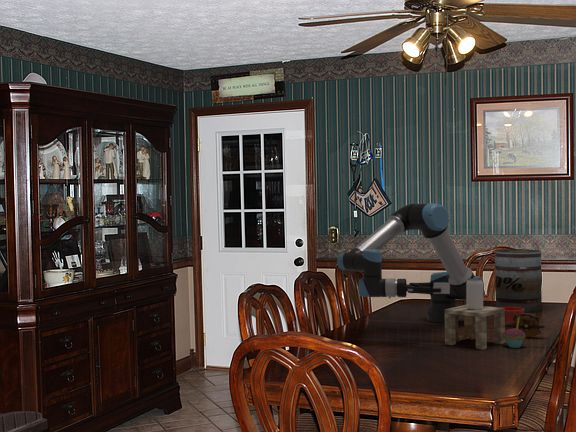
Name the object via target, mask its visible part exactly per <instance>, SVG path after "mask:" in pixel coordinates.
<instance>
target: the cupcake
mask: <svg viewBox="0 0 576 432" xmlns="http://www.w3.org/2000/svg"><path fill="white" fill-rule="evenodd" d="M519 317H520V316H519ZM519 319H520V318H518V320H517V327H516V328H513V329H508V330H506V331H504V332H503V337H504V338H505V342H506V344H507V346H508V347H509V348H512V349H514V348H515V349H518V348H521V347H522V343H523V342H524V339H526V337H525V335H526V334H525V333H524V332H523V331H522V330H519V329H518V325H519Z"/></svg>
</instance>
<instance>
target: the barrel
mask: <svg viewBox="0 0 576 432" xmlns="http://www.w3.org/2000/svg"><path fill="white" fill-rule="evenodd" d="M494 275H495V277H494V278H495V280H494V282H495V284H494V285H495V286H494V287H495V291H494V292H495V307H498V308H500V307H520V308H524V313H528V314H536V313H540V312H542V311H543V310H542V309H543V307H542V305H543V302H542V301H543V300H542V297H543V296H542V294H543V293H542V250H539V249H526V248H525V249H498V250H497V249H496V250H494Z"/></svg>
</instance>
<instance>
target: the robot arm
mask: <svg viewBox="0 0 576 432" xmlns="http://www.w3.org/2000/svg"><path fill="white" fill-rule="evenodd" d="M449 222H450V219H449V213H448V211H447V209H446V208H445V207H444V205H441V204H440V203H433V202H429V203H410V204H409V203H408V204H406V205H404V206H402V207H400V208H399V209H397V210H395V211H394V212H392V214H390V215H388V217H387V218H386V222H384V223H383V224H382V225H380V226H379V227H378V228H376V230H374V231H372V233H370V235H368V236H367V237H365V238H364V239H362V241H361V242H359V243H358V244H357V245H356V246H355V247H353V248H352V249H351V250H350V251H348V252H341V253H339V254H338V256H337V260H336V264H337V266H338V268H339V269H340V270H342V271H347V272H348V271H349V272H350V271H351V272H358V273H359V272H362V273H363V277H362V278H359V279H358V283H357V284H358V286H357V287H358V290H357V291H358V295H359V296H360V297H364V298H365V297H367V298H368V297H369V298H387V297H388V299H391V298H396V297H397V298H406V297H407V295H408V294H421V295H422V294H423V295H429V296H430V305H429V308H428V312H427V315H426V316H427V317H426V320H427V322H432V323H441V324H445V309H449V308H454V307H458V306H457V303H456V301H463V302H466V283H467V280H468V278H480V279H482V282H483V291H484V289H485V283H484V280H483V278H482V277H481V276H479V275H477V276H476V275H475V274H474V272H473V270H472V269H471V268H470V267H467V265H466V263H464V261H463V258H462V257H461V255H460V253H459V251H458V249H457V247H456V245H455V243H454V241H453V239H452V237H451V236H450V234H449V231H448V228H449ZM413 230H414V231H420V232H421V234H422V236H423V237H424V238H425V239H428V240H429V241H430V243H431V245H432V247H433V249H434V250H435V252H436V254H437V256H438V258H439V260H440V262H441V263H442V265H443V267H444V269H445V271H440V272H433V273H432V274H430V279H429V280H430V281H428V282H409V283H408V282H407V279H406V278H397V279H396V278H382V277H383V275H382V273H383V272H382V268H383V267H382V263H383V262H382V261H383V260H382V259H383V258H382V252H381V249H382V248H383V247H385V246H386V245H387V244H388V243H389V242H390V241H392V240H393V239H394V238H396V236H398V235H402V234H404V233H405V232H406V231H413ZM407 293H408V294H407ZM460 317H461V315H458V322H459V321H461V318H460Z"/></svg>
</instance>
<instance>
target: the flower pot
mask: <svg viewBox="0 0 576 432" xmlns="http://www.w3.org/2000/svg"><path fill="white" fill-rule="evenodd" d="M500 308H504V311H505V324H508V323H514V320H513V318H514V315H515V314H516V315H519V314H522V313H524V308H520V307H500ZM505 331H506V328H505Z"/></svg>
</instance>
